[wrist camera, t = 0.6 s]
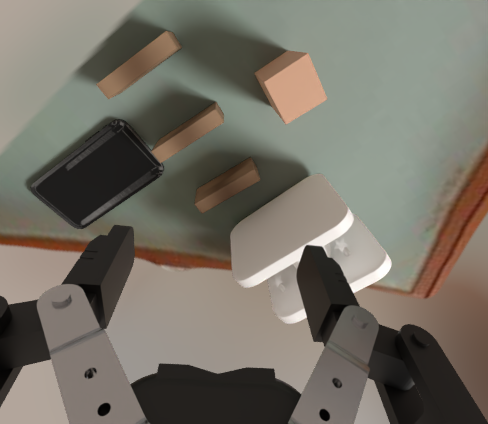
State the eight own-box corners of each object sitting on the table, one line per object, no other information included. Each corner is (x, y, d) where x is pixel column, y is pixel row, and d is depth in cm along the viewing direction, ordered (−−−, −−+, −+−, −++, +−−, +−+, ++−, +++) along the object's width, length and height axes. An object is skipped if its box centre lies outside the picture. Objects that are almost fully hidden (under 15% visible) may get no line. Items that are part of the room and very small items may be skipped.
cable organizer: (322, 162, 36) (361, 208, 26) (357, 217, 41) (401, 274, 31) (228, 224, 40) (231, 286, 30) (270, 268, 44) (284, 334, 35)
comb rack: (172, 32, 28) (165, 31, 24) (256, 166, 36) (260, 179, 32) (110, 79, 29) (96, 84, 26) (203, 197, 37) (202, 213, 34)
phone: (167, 171, 34) (78, 232, 38) (168, 168, 35) (82, 227, 39) (118, 115, 31) (25, 188, 34) (121, 113, 32) (30, 184, 35)
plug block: (287, 50, 29) (308, 53, 22) (304, 86, 31) (327, 99, 24) (254, 73, 30) (263, 82, 23) (271, 106, 32) (285, 124, 25)
